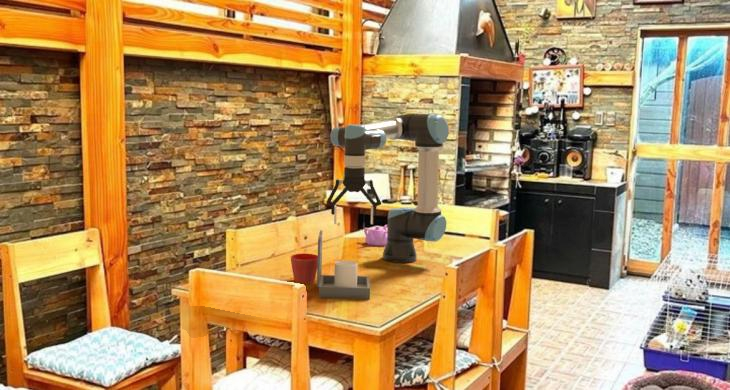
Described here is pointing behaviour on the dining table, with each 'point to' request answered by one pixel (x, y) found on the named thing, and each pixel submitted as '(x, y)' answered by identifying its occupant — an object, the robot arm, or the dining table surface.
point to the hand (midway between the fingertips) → (353, 223)
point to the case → (330, 291)
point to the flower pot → (304, 267)
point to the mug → (345, 274)
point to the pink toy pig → (376, 236)
